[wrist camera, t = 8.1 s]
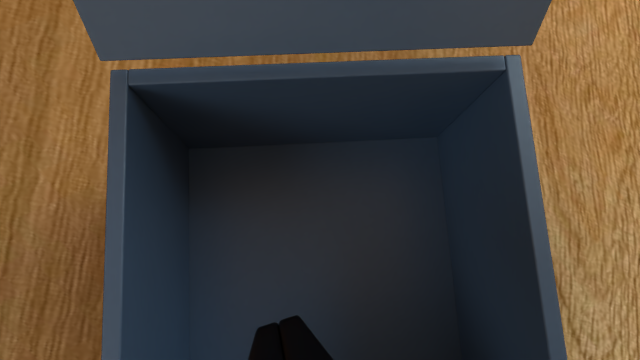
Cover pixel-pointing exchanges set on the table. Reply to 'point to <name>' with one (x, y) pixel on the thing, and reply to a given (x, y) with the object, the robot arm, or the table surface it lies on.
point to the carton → (327, 211)
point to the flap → (302, 26)
